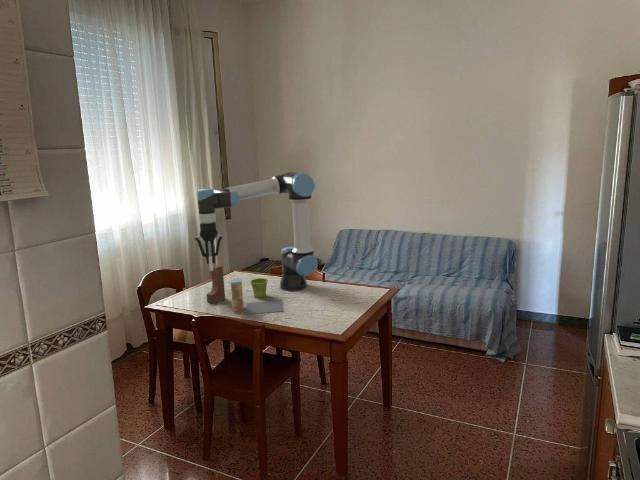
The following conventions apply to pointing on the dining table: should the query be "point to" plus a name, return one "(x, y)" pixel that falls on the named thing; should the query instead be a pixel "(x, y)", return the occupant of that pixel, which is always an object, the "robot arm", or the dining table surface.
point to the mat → (264, 307)
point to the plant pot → (259, 287)
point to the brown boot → (216, 285)
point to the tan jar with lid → (237, 295)
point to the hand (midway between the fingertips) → (211, 269)
